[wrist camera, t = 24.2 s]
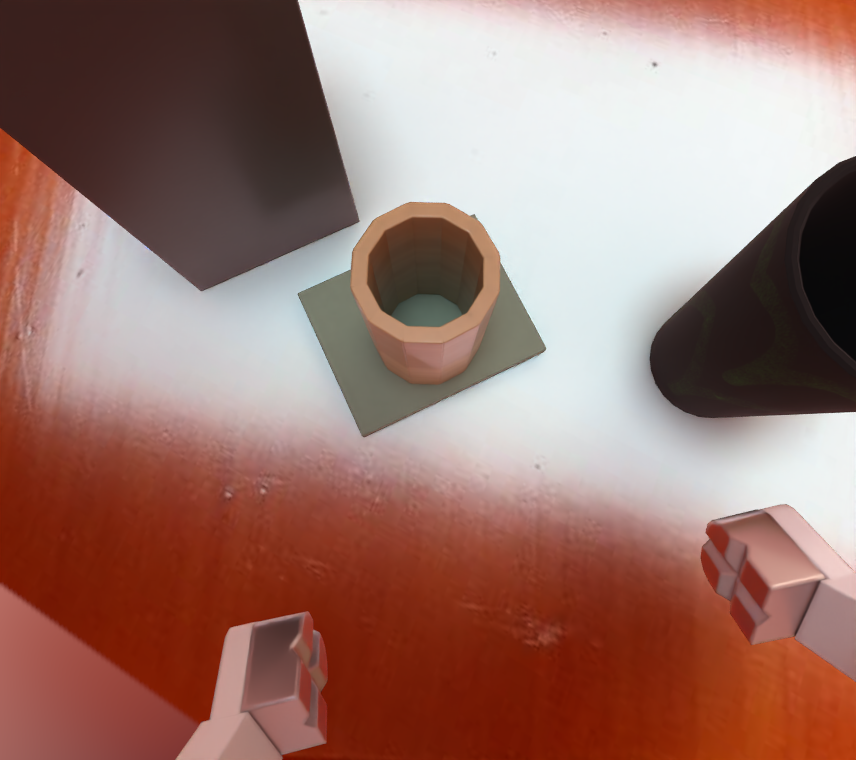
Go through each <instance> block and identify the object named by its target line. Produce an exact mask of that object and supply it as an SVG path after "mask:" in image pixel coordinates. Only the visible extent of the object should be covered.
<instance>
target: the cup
mask: <svg viewBox="0 0 856 760" xmlns="http://www.w3.org/2000/svg"><path fill="white" fill-rule="evenodd" d="M650 365H651V372H652V374H653V377H654V380H655V383H656V385H657V386H658V388H659V389H660V391H661V392H662V394H663V395H664V396H665V397H666V398H667V399H668V400H669V401H670V402H671V403H672V404H673V405H674V406H676V407H678V408H679V409H681V410H683V411H684V412H686V413H689V414H692V415H695V416H698V417H708V418H722V417H746V416H769V415H793V414H817V413H840V412H856V156H855V157H852V158H850V159H847V160H845V161H842V162H839V163H838V164H836V165H835V166H834V167H832V168H831V169H830V170H828V171H827V172H826V173H824V174H823V175H822V176H820V177H819V178H817V179H816V180H815V181H814V182H813V183H812V184H811V185H810V186H809V187H808V188H807V189H805V190H804V191H803V192H802V193H801V194H800V195H799V196H798V197H797V198H796V199H795V200H794V201H793V202H792V203H791V204H790V205H789V206H788V207H787V208H785V209H784V210H783V211H782V212H781V213H780V214H779V215H778V216H777V217H776V218H775V219H774V220H773V221H772V222H771V223H770V224H769V225H768V226H767V227H765V228H764V229H763V230H762V231H761V232H760V233H759V234H758V235H757V236H756V237H755V238H754V239H753V240H752V241H751V242H750V243H749V244H748V245H747V246H746V247H744V248H743V249H742V250H741V251H740V252H739V253H738V254H737V255H736V256H735V257H734V258H733V259H732V260H731V261H730V262H729V263H728V264H727V265H726V266H724V267H723V268H722V269H721V270H720V271H719V272H718V273H717V274H716V275H715V276H714V277H713V278H712V279H711V280H710V281H709V282H708V283H707V284H706V285H704V286H703V287H702V288H701V289H700V290H699V291H698V292H697V293H696V294H695V295H694V296H693V297H692V298H691V299H690V300H689V301H688V302H687V303H686V304H685V305H683V306H682V307H681V308H680V309H679V310H678V311H677V312H676V313H675V314H674V315H673V316H672V317H671V318H670V319H669V320H668V321H667V322H666V323H665V324H664V325H663V326H662V327H661V329H660V330H659V331H658V332H657V334H656V336H655V338H654V341H653V343H652V346H651V353H650Z"/></svg>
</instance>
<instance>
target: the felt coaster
mask: <svg viewBox="0 0 856 760" xmlns="http://www.w3.org/2000/svg"><path fill="white" fill-rule="evenodd" d="M471 217H473V218H474V219H476V220H477V218H476V216H475V214H474V215H471ZM350 280H351V270H349V271H347V272H344V273H342V274H340V275H338V276H335V277H333V278H331V279H329V280H326V281H324V282H322V283H320V284H318V285H315V286H313V287H311V288H309V289H306V290H304V291H302V292H300V293H298V296H299V298H300V300H301V303H302V305H303V307H304V309H305V311H306V314H307V316H308V318H309V320H310V322H311V325H312V327H313V329H314V331H315V333H316V336H317V338H318V340H319V342H320V344H321V347H322V349H323V351H324V353H325V355H326V358H327V360H328V362H329V364H330V366H331V369H332V371H333V373H334V375H335V377H336V380H337V382H338V384H339V386H340V388H341V391H342V393H343V395H344V397H345V399H346V402H347V404H348V406H349V408H350V410H351V413H352V415H353V417H354V419H355V421H356V424H357V426H358V428H359V430H360V432H361V435H362V436H363V437H366V436H368V435H370V434H372V433H374V432H376V431H378V430H380V429H382V428H385V427H387V426H389V425H391V424H393V423H395V422H397V421H399V420H401V419H403V418H406V417H408V416H410V415H412V414H414V413H416V412H418V411H420V410H422V409H424V408H427V407H429V406H431V405H433V404H435V403H437V402H439V401H441V400H443V399H445V398H448V397H450V396H452V395H454V394H456V393H458V392H460V391H462V390H464V389H467V388H469V387H471V386H473V385H475V384H477V383H479V382H481V381H483V380H485V379H488V378H490V377H492V376H494V375H496V374H498V373H500V372H502V371H504V370H506V369H509V368H511V367H513V366H515V365H517V364H519V363H521V362H523V361H525V360H528V359H530V358H532V357H534V356H536V355H538V354H540V353H542V352H544V351H545V350H546V347H545V345H544V343H543V341H542V339H541V337H540V336H539V334H538V332H537V330H536V328H535V326H534V324H533V322H532V321H531V319H530V317H529V315H528V313H527V311H526V309H525V308H524V306H523V304H522V302H521V300H520V298H519V296H518V294H517V293H516V291H515V289H514V287H513V285H512V283H511V281H510V279H509V278H508V276H507V274H506V272H505V270H504V268H503V266H502V265H501V263H500V292H499V295H498V298H497V301H496V304H495V306H494V309H493V312H492V314H491V317H490V320H489V322H488V325H487V328H486V331H485V333H484V336H483V339H482V341H481V344H480V347H479V349H478V351H477V352H476V354H475V356H474V357H473V359H472V360H471V362H470V364H469V365H468V367H467V369H466V370H465V371H464V372H463V373H461V374H459V375H457V376H455V377H453V378H451V379H449V380H447V381H446V382H444V383H442V384H439V385H436V384H412V383H409V382H408V381H406V380H404V379H403V378H401V377H399V376H398V375H396V374H394V373H393V372H391V371H390V370H388V369H387V368H386V366H385V364H384V362H383V361H382V359H381V357H380V355H379V353H378V351H377V349H376V347H375V345H374V343H373V341H372V338H371V336H370V334H369V331H368V329H367V327H366V324H365V322H364V320H363V317H362V315H361V313H360V310H359V308H358V306H357V303H356V301H355V299H354V296H353V294H352V291H351V287H350ZM462 315H463V314H462V312H461V311H460V309H459V307H458V305H456V304H455V303H453V302H451V301H450V300H448V299H446V298H444V297H443V296H441V295H439V294H416V295H414V296H412V297H410V298H408V299H406V300H404V301H403V302H401V303H399V304H398V305H397V307H396V308H395V310H394V311H393V313H392V315H391V316H392V317H393V318H395V319H397V320H398V321H400V322H402V323H403V324H405V325H407V326H422V327H440V326H442V325H444V324H446V323H448V322H450V321H452V320H454V319H456V318H458V317H460V316H462Z"/></svg>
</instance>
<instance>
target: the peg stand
mask: <svg viewBox="0 0 856 760" xmlns="http://www.w3.org/2000/svg"><path fill="white" fill-rule="evenodd" d="M0 128H1V129H3V130H4V131H5V132H6V133H7V134H9V135H10V136H11V137H12V138H14V139H15V140H16V141H17V142H19V143H20V144H21V145H22V146H23V147H25V148H26V149H27V150H28V151H30V152H31V153H32V154H33V155H35V156H36V157H37V158H38V159H39V160H41V161H42V162H43V163H44V164H46V165H47V166H48V167H49V168H51V169H52V170H53V171H54V172H55V173H57V174H58V175H59V176H60V177H62V178H63V179H64V180H65V181H66V182H68V183H69V184H70V185H71V186H73V187H74V188H75V189H76V190H78V191H79V192H80V193H81V194H82V195H84V196H85V197H86V198H87V199H89V200H90V201H91V202H92V203H94V204H95V205H96V206H97V207H98V208H100V209H101V210H102V211H103V212H105V213H106V214H107V215H108V216H110V217H111V218H112V219H113V220H114V221H116V222H117V223H118V224H119V225H121V226H122V227H123V228H124V229H126V230H127V231H128V232H129V233H130V234H132V235H133V236H134V237H135V238H137V239H138V240H139V241H140V242H141V243H143V244H144V245H145V246H146V247H148V248H149V249H150V250H151V251H153V252H154V253H155V254H156V255H157V256H159V257H160V258H161V259H162V260H164V261H165V262H166V263H167V264H169V265H170V266H171V267H172V268H173V269H175V270H176V271H177V272H178V273H180V274H181V275H182V276H183V277H185V278H186V279H187V280H188V281H189V282H191V283H192V284H193V285H194V286H196V287H197V288H198V289H199V290H201V291H203V290H205V289H207V288H209V287H212V286H214V285H216V284H218V283H221V282H223V281H225V280H227V279H230V278H232V277H234V276H237V275H239V274H241V273H243V272H246V271H248V270H250V269H252V268H255V267H257V266H259V265H261V264H264V263H266V262H268V261H270V260H273V259H275V258H277V257H280V256H282V255H284V254H286V253H289V252H291V251H293V250H295V249H298V248H300V247H302V246H304V245H307V244H309V243H311V242H313V241H316V240H318V239H320V238H322V237H325V236H327V235H329V234H332V233H334V232H336V231H338V230H341V229H343V228H345V227H347V226H350V225H352V224H354V223H356V222H359V218H358V214H357V211H356V207H355V204H354V200H353V196H352V193H351V189H350V186H349V182H348V178H347V175H346V171H345V168H344V164H343V160H342V157H341V153H340V150H339V146H338V143H337V139H336V135H335V132H334V128H333V125H332V121H331V117H330V114H329V110H328V107H327V103H326V100H325V96H324V92H323V89H322V85H321V82H320V78H319V74H318V71H317V67H316V64H315V60H314V56H313V53H312V49H311V46H310V42H309V39H308V35H307V31H306V28H305V24H304V21H303V17H302V13H301V10H300V6H299V3H298V0H0Z"/></svg>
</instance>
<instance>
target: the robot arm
mask: <svg viewBox="0 0 856 760" xmlns="http://www.w3.org/2000/svg"><path fill="white" fill-rule="evenodd" d="M706 534H707V535H708V536H709V538H710V539H709V540H708V541H707V542H706V543H705V544H704V545H703V546H702V552H701V562H702V566H703V570H704V573H705V575H706V577H707V579H708V581H709V583H710V584H711V586H712V587H713V589H714V590H715V592H716V593H717V594H719V595H721V596H723V597H724V598H726V599H728V600H729V601H730V614H731V616H732V617H733V619H734V620H735V622H736V623H737V625H738V626H739V628H740V629H741V631H742V632H743V633H744V635H745V636H746V638H747V639H748V641H749V642H750V644H751V645H754V644H759V643H764V642H769V641H774V640H779V639H784V638H789V637H794V636H796V637H795V640H797V641H798V642H800V643H801V644H803V645H804V646H805V647H807V648H808V649H810V650H811V651H813V652H814V653H815V654H817V655H818V656H820V657H821V658H823V659H824V660H825V661H827V662H828V663H830V664H831V665H833V666H834V667H835V668H837V669H838V670H840V671H841V672H843V673H844V674H845V675H847V676H848V677H850V678H851V679H853V680H854V681H855V682H856V572H855V571H854V570H853V569H852V568H851V567H850V566H849V565H848V564H847V563H846V562H845V561H844V560H843V559H842V558H841V557H840V556H839V555H838V554H837V553H836V552H835V551H834V550H833V549H832V547H831V546H830V545H829V544H828V543H827V542H826V541H825V540H824V539H823V538H822V537H821V536H820V535H819V534H818V533H817V532H816V531H815V530H814V529H813V528H812V527H811V526H810V525H809V524H808V523H807V522H806V520H805V519H804V518H803V517H802V516H801V515H800V514H799V513H798V512H797V511H796V510H795V509H794V508H792V507H791V506H789V505H787V504H783V505H777V506H772V507H768V508H764V509H760V510H753V511H748V512H744V513H740V514H736V515H732V516H728V517H724V518H720V519H715V520H712V521H711V522H709V523H708V524H707V528H706ZM327 681H328V665H327V656H326V649H325V645H324V641H323V638H322V636H321V634H320V632H317V631H315V630H313V618H312V617H311V615H310V613H309V612H308V611H306V612H301V613H297V614H292V615H287V616H283V617H278V618H273V619H269V620H264V621H259V622H253V623H249V624H244V625H240V626H235V627H231V628H229V630H228V633H227V635H226V637H225V640H224V645H223V651H222V656H221V661H220V667H219V672H218V677H217V683H216V688H215V693H214V699H213V704H212V710H211V715H210V720H207V721H204V722H201V724H200V725H199V727H198V728H197V729H196V731H195V732H194V734H193V735H192V737H191V738H190V740H189V741H188V742H187V744H186V746H185V747H184V748H183V750H182V751H181V752H180V754H179V755H178V757H177V758H176V760H282V759H283V757H282V756H281V755H283V754H287V753H291V752H295V751H299V750H302V749H306V748H310V747H314V746H318V745H321V744H325V743H326V740H327V704H326V702H325V700H324V699H323V697H322V695H321V691H322V690H323V688H324V686H325V684H326V683H327Z"/></svg>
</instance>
